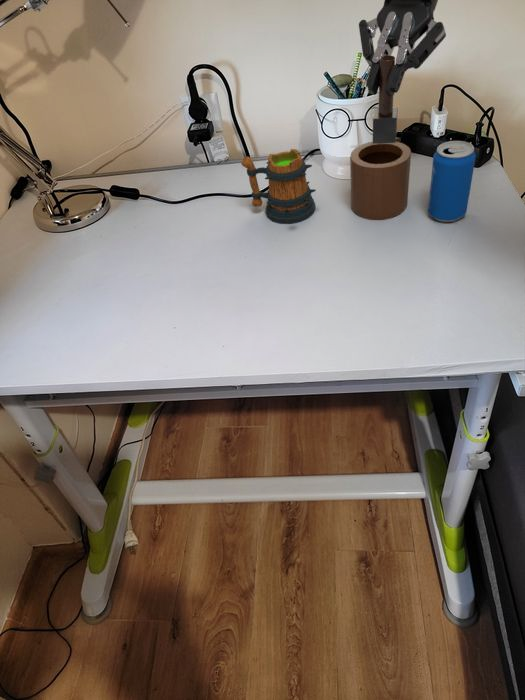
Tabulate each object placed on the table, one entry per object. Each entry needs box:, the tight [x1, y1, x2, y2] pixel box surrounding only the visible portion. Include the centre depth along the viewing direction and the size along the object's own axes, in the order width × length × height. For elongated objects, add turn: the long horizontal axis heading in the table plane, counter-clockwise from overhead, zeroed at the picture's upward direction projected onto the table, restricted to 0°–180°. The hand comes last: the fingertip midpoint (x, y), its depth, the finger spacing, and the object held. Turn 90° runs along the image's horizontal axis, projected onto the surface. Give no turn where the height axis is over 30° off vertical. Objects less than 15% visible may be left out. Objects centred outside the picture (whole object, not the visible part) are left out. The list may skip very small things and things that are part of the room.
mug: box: [240, 148, 316, 225], centre depth 94 cm, size 13×10×12 cm
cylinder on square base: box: [372, 55, 399, 144], centre depth 79 cm, size 4×4×12 cm
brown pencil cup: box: [349, 141, 412, 221], centre depth 91 cm, size 10×10×10 cm
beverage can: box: [427, 140, 477, 223], centre depth 86 cm, size 6×6×12 cm
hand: (380, 92), depth 76 cm, fingers closed on cylinder on square base, 2 cm apart
